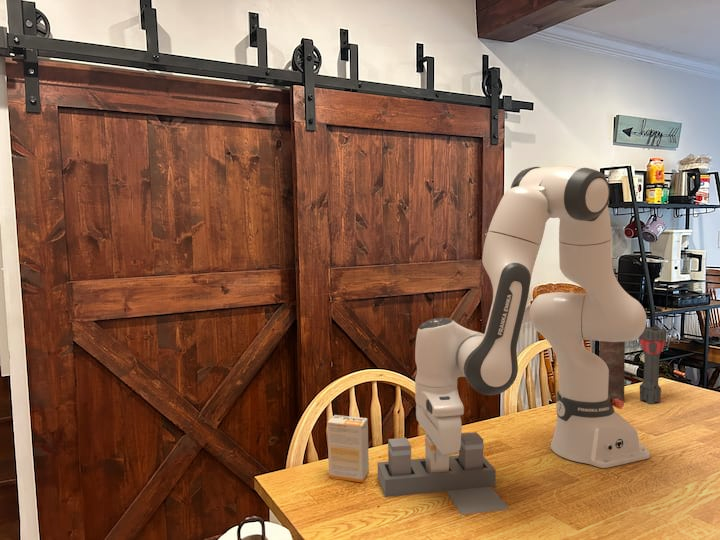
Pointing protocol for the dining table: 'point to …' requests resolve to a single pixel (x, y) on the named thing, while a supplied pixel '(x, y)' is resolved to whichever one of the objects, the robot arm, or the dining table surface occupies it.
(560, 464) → the dining table surface
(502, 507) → the mat
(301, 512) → the dining table surface
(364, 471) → the supplement box
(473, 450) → the twin plug
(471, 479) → the strip
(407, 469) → the twin plug
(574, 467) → the dining table surface
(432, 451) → the plug
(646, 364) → the flashlight
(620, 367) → the brown tall block
